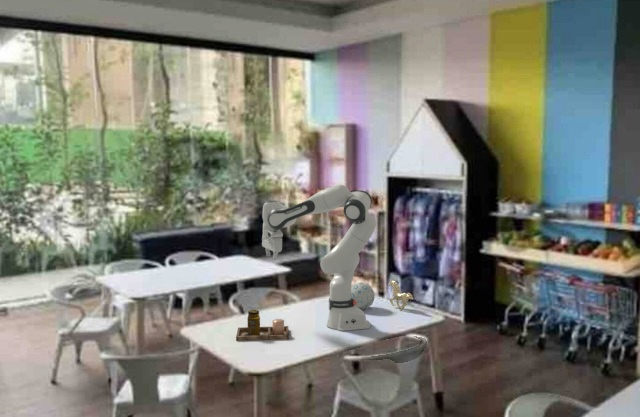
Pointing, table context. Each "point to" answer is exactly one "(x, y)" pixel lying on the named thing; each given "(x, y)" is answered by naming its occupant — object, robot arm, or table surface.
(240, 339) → the caddy
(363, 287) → the puzzle ball
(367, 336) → the table surface
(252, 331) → the condiment
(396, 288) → the golden horse figurine
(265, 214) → the robot arm
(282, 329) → the beige cylinder
